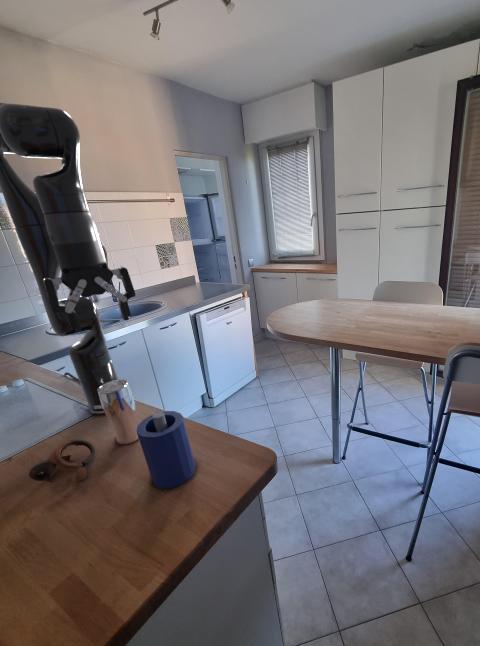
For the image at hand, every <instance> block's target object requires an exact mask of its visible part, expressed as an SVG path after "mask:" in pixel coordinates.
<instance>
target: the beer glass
mask: <svg viewBox="0 0 480 646" xmlns="http://www.w3.org/2000/svg"><path fill="white" fill-rule="evenodd" d="M97 391H98V394H99V398H100V402H101V405H102V407H103V410H104V412H105V414H104V415H105V416H106V417H107V419H108V420H109V422H110V424H111V425H112V427H113V428H114V431H115V438H116V439H115V440H116V442H117V444H119V445H129V444H131V443H134V442H136V441H139V438H138V435H137V431H136V430H137V427H138V425H139V423H138V418H137V409H136V402H135V401H136V400H135V397H134V394H133V392H132V391H133V390H132V389H131V386H130V385H129V382H128V380H127V379H121V378H120V379H119V378H118V380H113V381H109V382H107V383H104V384H103V385H101V386H100V387H99V388H98V390H97Z"/></svg>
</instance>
